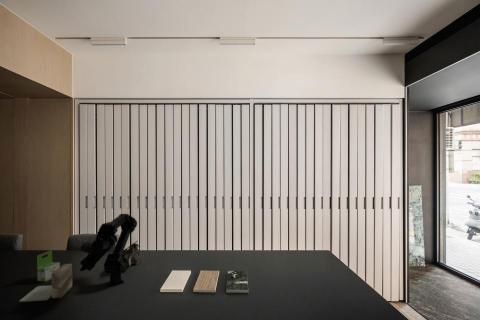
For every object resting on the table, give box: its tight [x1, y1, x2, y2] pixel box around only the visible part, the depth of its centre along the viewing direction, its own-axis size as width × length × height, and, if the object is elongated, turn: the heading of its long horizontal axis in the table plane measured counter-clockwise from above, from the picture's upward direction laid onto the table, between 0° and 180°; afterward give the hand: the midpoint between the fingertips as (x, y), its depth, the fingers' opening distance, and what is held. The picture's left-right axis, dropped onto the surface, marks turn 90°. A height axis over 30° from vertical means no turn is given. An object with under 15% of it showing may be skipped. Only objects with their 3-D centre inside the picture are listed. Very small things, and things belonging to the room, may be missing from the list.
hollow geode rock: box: [122, 240, 143, 272], centre depth 181 cm, size 28×13×15 cm
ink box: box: [36, 249, 61, 283], centre depth 163 cm, size 10×5×14 cm, turn 168°
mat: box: [19, 284, 52, 303], centre depth 145 cm, size 12×15×1 cm
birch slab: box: [51, 263, 73, 299], centre depth 146 cm, size 4×12×12 cm, turn 7°
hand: (80, 270), depth 147 cm, fingers closed
